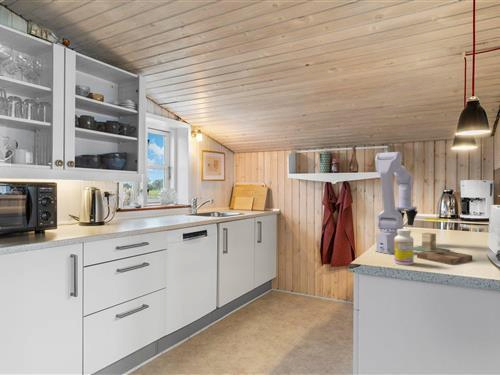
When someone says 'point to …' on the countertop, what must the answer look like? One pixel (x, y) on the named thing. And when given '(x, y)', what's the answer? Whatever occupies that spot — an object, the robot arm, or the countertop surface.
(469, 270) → the countertop surface
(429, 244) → the maple block
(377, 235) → the robot arm
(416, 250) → the rubber mat
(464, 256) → the pocket plate
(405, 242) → the supplement bottle
